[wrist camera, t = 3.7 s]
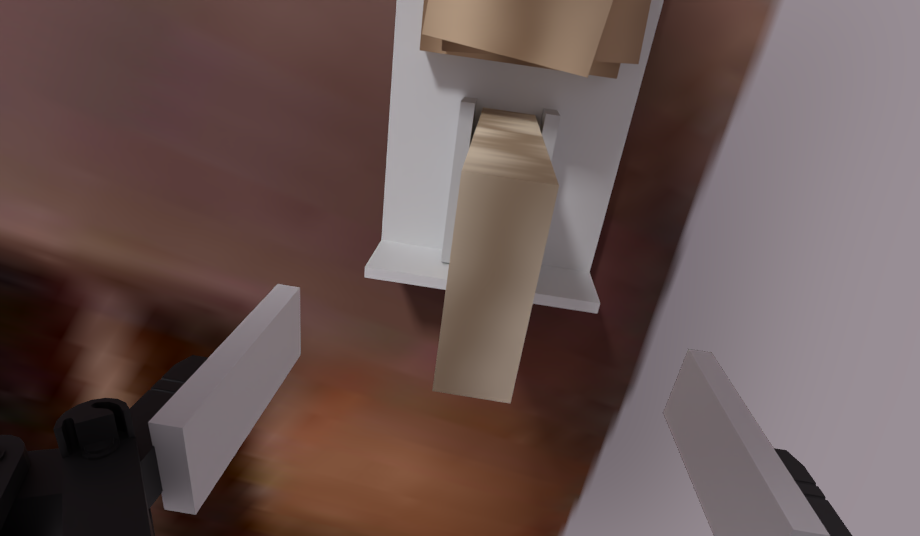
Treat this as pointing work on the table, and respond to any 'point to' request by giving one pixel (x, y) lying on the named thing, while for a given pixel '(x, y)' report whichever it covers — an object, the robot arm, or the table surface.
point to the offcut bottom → (436, 46)
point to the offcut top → (524, 29)
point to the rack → (448, 140)
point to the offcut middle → (604, 34)
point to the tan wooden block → (495, 256)
